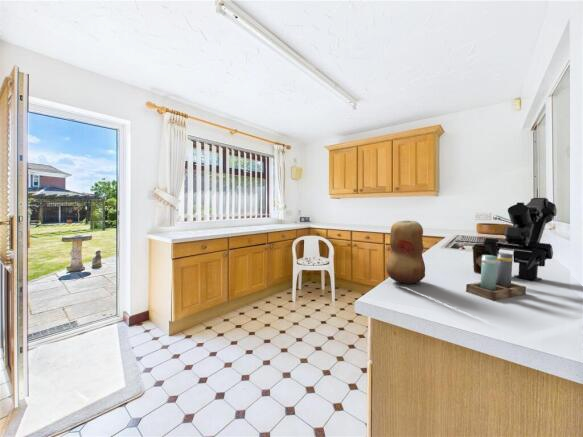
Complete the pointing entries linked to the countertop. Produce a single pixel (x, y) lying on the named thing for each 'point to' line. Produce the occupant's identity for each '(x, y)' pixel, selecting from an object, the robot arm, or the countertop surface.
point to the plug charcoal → (504, 270)
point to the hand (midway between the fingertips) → (510, 266)
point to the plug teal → (488, 272)
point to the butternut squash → (406, 252)
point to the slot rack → (499, 293)
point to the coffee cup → (479, 256)
